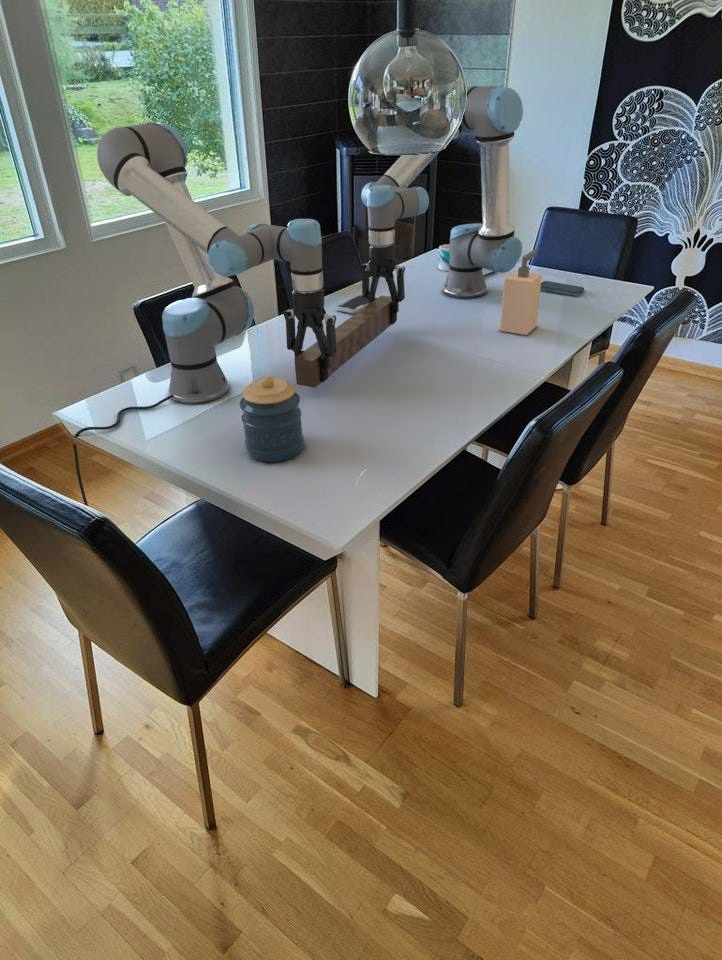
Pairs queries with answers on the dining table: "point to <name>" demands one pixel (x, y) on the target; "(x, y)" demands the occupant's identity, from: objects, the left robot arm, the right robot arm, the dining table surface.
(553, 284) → the smartphone
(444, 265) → the mug
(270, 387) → the canister
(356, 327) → the post
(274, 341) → the dining table surface
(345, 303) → the smartphone
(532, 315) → the soap dispenser
